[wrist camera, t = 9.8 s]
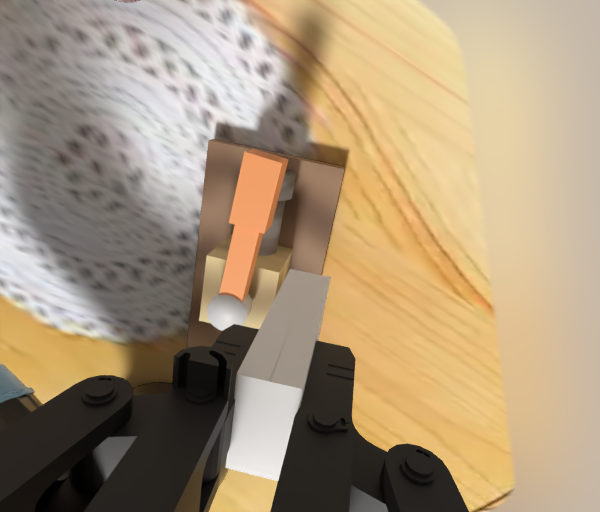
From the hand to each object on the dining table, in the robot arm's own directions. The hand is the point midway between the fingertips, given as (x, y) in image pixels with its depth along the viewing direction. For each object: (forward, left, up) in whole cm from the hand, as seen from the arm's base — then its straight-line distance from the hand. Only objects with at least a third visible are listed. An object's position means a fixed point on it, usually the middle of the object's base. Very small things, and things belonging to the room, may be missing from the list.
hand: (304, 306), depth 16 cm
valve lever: (-4, +6, -16) cm, 17 cm away
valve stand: (-9, +6, -24) cm, 26 cm away
